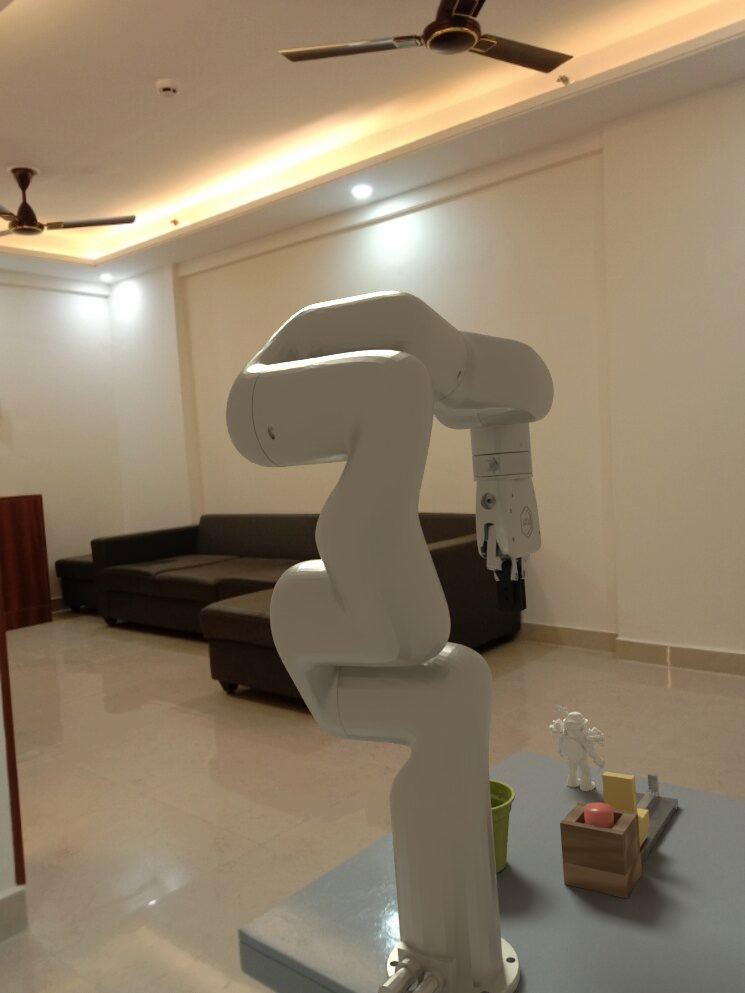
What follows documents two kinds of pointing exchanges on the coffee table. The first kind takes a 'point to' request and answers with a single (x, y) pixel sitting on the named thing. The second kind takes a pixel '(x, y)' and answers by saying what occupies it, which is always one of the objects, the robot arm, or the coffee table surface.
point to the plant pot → (500, 819)
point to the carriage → (625, 798)
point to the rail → (655, 813)
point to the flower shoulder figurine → (577, 747)
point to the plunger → (599, 815)
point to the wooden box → (601, 852)
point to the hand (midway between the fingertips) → (512, 610)
